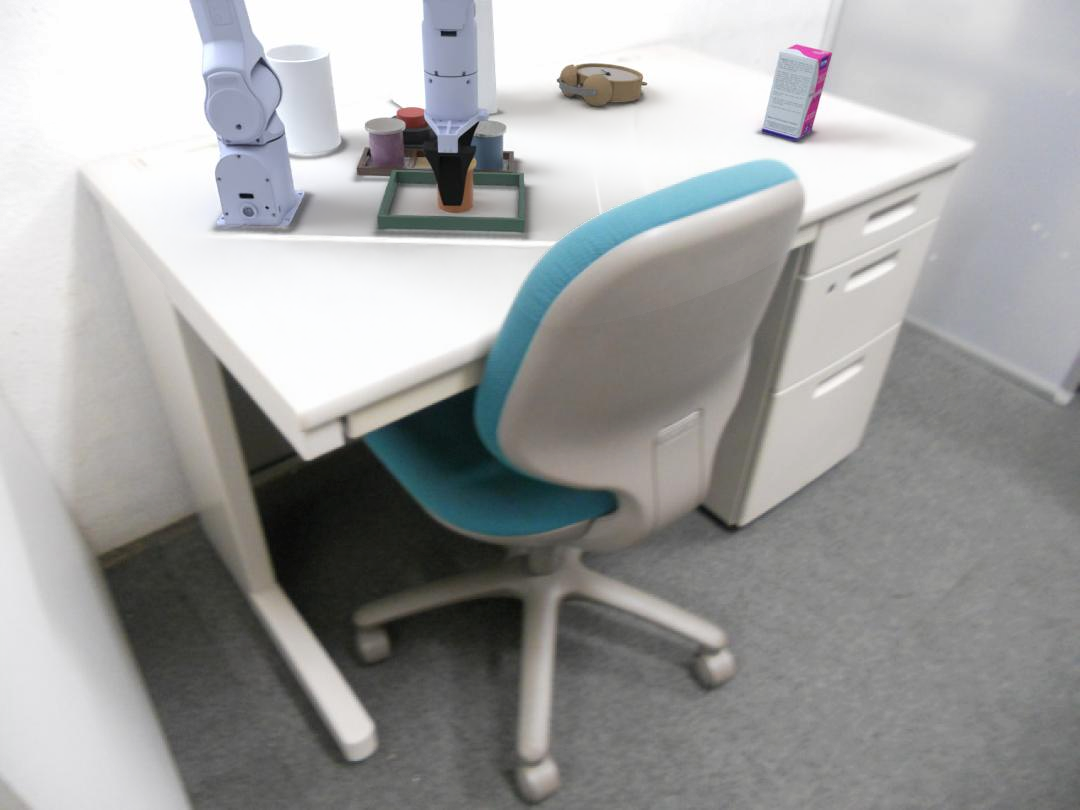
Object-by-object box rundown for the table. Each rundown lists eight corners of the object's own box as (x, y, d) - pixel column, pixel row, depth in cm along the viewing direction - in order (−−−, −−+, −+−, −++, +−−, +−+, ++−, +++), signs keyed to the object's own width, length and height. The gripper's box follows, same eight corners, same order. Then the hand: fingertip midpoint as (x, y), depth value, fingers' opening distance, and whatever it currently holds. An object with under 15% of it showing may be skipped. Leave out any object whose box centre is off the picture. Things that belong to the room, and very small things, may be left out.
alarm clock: (658, 77, 131) (595, 76, 121) (651, 109, 133) (589, 111, 123) (607, 60, 137) (543, 59, 127) (601, 91, 140) (538, 92, 130)
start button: (428, 120, 112) (428, 107, 111) (425, 130, 109) (425, 117, 108) (399, 119, 112) (398, 106, 111) (395, 129, 109) (394, 116, 108)
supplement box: (797, 142, 118) (817, 59, 111) (760, 132, 121) (776, 50, 114) (813, 132, 122) (833, 50, 115) (776, 122, 125) (793, 42, 117)
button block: (452, 135, 116) (451, 112, 114) (448, 157, 110) (447, 133, 108) (381, 133, 115) (379, 110, 113) (372, 155, 109) (370, 131, 107)
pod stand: (513, 183, 104) (513, 171, 103) (357, 179, 103) (356, 167, 102) (513, 162, 109) (513, 151, 108) (366, 158, 108) (364, 147, 107)
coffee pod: (475, 215, 95) (475, 170, 92) (432, 214, 95) (430, 169, 91) (477, 196, 99) (477, 153, 95) (436, 195, 99) (434, 152, 95)
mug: (252, 137, 113) (235, 45, 105) (307, 123, 118) (294, 34, 110) (299, 162, 106) (284, 66, 99) (354, 147, 111) (344, 54, 104)
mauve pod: (405, 174, 104) (402, 132, 100) (366, 173, 103) (361, 130, 100) (410, 159, 108) (407, 117, 104) (371, 158, 107) (367, 116, 104)
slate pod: (505, 176, 104) (506, 134, 101) (466, 175, 104) (465, 133, 101) (506, 161, 108) (506, 120, 105) (468, 160, 108) (467, 119, 104)
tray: (523, 236, 92) (524, 220, 91) (378, 233, 92) (377, 216, 90) (523, 188, 102) (524, 172, 101) (393, 184, 102) (392, 169, 101)
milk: (392, 101, 126) (377, -95, 110) (458, 90, 132) (453, -99, 116) (429, 125, 119) (418, -82, 103) (497, 112, 124) (497, -87, 108)
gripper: (485, 92, 82) (486, 218, 90) (490, 51, 93) (491, 166, 101) (414, 90, 81) (422, 217, 90) (428, 49, 93) (433, 165, 101)
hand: (454, 190), depth 96 cm, fingers open, 7 cm apart
